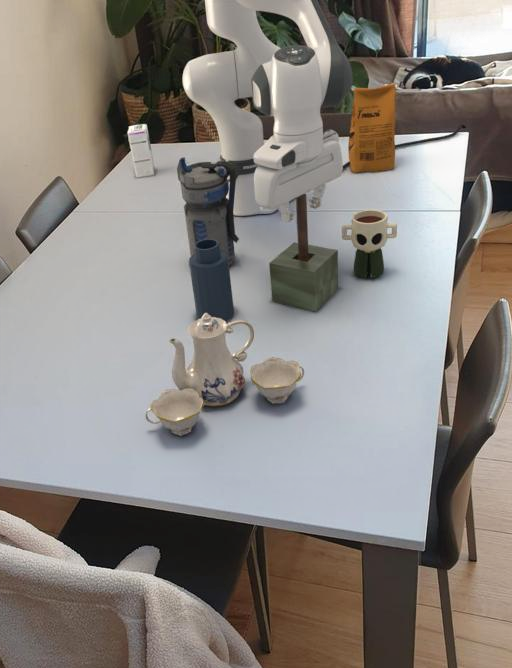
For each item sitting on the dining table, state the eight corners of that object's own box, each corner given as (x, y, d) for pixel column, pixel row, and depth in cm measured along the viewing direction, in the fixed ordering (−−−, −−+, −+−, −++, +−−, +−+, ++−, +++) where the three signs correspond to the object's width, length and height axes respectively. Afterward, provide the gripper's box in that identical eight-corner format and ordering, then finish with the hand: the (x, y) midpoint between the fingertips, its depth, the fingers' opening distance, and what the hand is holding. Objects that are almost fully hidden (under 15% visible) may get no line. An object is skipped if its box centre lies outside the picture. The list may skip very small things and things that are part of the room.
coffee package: (348, 162, 205) (347, 83, 193) (393, 158, 203) (395, 78, 190) (349, 175, 198) (348, 93, 185) (395, 171, 195) (398, 88, 182)
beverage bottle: (235, 276, 159) (224, 168, 145) (182, 271, 165) (166, 167, 151) (251, 255, 166) (242, 150, 152) (199, 251, 172) (186, 150, 158)
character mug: (341, 281, 150) (341, 224, 143) (342, 265, 156) (342, 210, 149) (395, 280, 148) (398, 222, 140) (394, 264, 153) (396, 207, 146)
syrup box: (154, 175, 220) (146, 128, 212) (135, 178, 220) (127, 131, 212) (155, 169, 225) (147, 122, 216) (136, 171, 225) (128, 125, 217)
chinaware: (167, 464, 114) (155, 387, 104) (129, 402, 126) (115, 328, 116) (317, 403, 121) (320, 326, 111) (267, 350, 133) (266, 275, 123)
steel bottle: (217, 301, 151) (208, 232, 142) (241, 313, 146) (234, 242, 137) (189, 315, 148) (179, 246, 139) (213, 328, 143) (203, 256, 134)
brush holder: (296, 279, 154) (294, 241, 149) (338, 288, 148) (337, 249, 143) (272, 301, 148) (269, 263, 143) (315, 311, 142) (314, 272, 137)
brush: (303, 291, 150) (298, 192, 137) (313, 293, 148) (309, 193, 136) (297, 296, 148) (292, 196, 136) (307, 299, 147) (303, 198, 134)
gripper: (324, 124, 137) (326, 192, 145) (246, 157, 128) (252, 228, 136) (350, 128, 132) (350, 199, 140) (270, 164, 124) (275, 236, 131)
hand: (301, 213), depth 138 cm, fingers open, 6 cm apart
